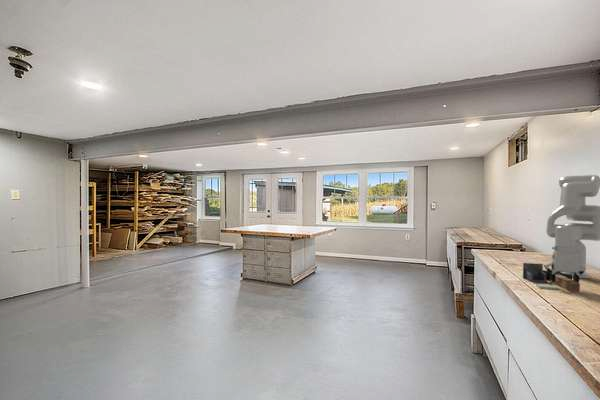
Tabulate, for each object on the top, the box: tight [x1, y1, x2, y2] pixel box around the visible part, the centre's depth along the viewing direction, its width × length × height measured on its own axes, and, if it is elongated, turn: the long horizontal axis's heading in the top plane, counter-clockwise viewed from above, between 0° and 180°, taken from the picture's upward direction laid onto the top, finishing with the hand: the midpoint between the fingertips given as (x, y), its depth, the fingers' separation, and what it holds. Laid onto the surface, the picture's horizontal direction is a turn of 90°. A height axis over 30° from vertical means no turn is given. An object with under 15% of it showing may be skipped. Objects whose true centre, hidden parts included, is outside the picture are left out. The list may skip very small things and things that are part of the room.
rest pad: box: [536, 283, 560, 291], centre depth 148 cm, size 4×8×1 cm, turn 72°
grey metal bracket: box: [522, 262, 547, 284], centre depth 160 cm, size 7×9×9 cm
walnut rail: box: [550, 274, 581, 294], centre depth 149 cm, size 16×4×5 cm, turn 165°
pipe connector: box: [543, 269, 573, 281], centre depth 163 cm, size 12×5×15 cm
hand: (564, 282), depth 148 cm, fingers open, 9 cm apart
